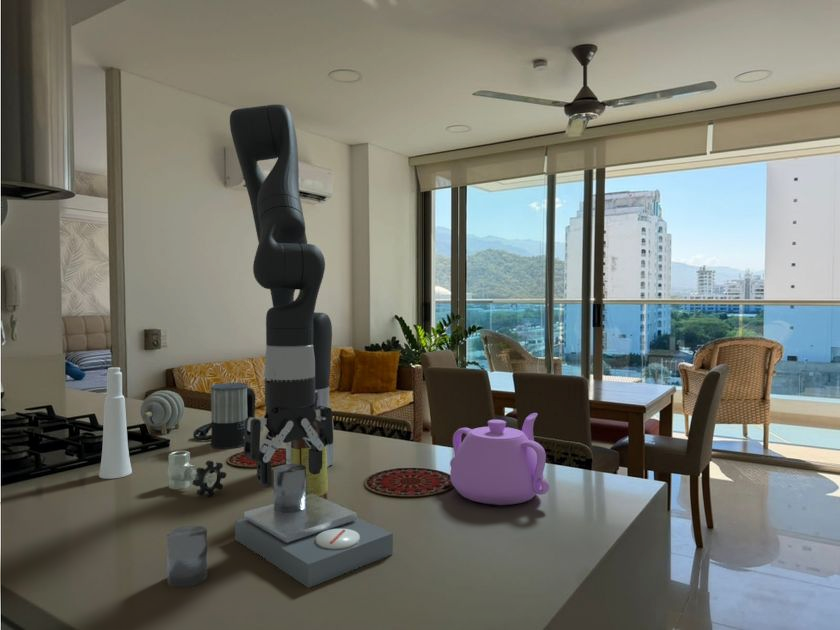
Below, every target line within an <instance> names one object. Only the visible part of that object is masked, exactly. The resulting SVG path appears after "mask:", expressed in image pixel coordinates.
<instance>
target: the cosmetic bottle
mask: <svg viewBox="0 0 840 630" xmlns="http://www.w3.org/2000/svg"><path fill="white" fill-rule="evenodd" d="M107 370H108V372H107V373H106V396H105V397H104V401H103V402H104V403H103V404H104V406H103V423H102V424H103V428H102V429H103V430H102V447H101V448H102V450H101V460H100V467H99V472H98V477H99V478H101V479H103V480H112V479H113V480H114V479H120V478H124V477H128V476H130V475H131V474H132V473H133V470H132V466H131V465H132V464H131V459H130V453H129V442H128V441H129V440H128V429H127V414H126V413H127V411H126V399H125V395H123V373H122V371H121V367H117V366H114V367H112V366H111V367H108V368H107Z"/></svg>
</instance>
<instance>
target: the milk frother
mask: <svg viewBox="0 0 840 630" xmlns="http://www.w3.org/2000/svg"><path fill="white" fill-rule="evenodd" d="M209 388H210V398H211V399H210V401H211V402H210V403H211V404H210V405H211V406H210V407H211V409H210V412H211V422H210V423H207V424H203V425H202V426H199V427H198V428H196V429H195V430H194V431H193V435H192V437H193V438H194V439H196V440H199V441H210V445H209V446H210V447H212V448H214V449H221V450H222V449H225V450H226V449H236V448H241V447H244V435H245V420H246V418H247V417H252V418H256V417H255V416H256V414H255V413H256V393H255V391H254V390H253V389H252V388H251V387H249V384H248V383H246V382H224V383H216V384H211V385H210V386H209ZM210 430H211V431H210ZM209 431H210V433H211V434H208V433H209ZM207 434H208V435H207Z"/></svg>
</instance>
